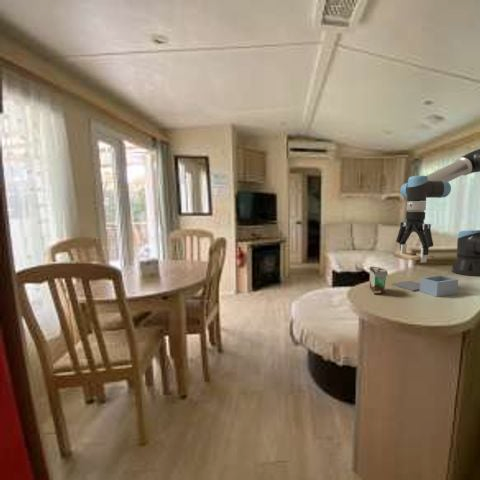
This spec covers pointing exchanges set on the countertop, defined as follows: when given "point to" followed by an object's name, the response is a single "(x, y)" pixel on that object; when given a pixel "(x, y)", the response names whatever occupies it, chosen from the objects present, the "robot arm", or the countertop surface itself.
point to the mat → (408, 285)
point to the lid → (411, 256)
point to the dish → (438, 285)
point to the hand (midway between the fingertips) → (412, 260)
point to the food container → (377, 280)
